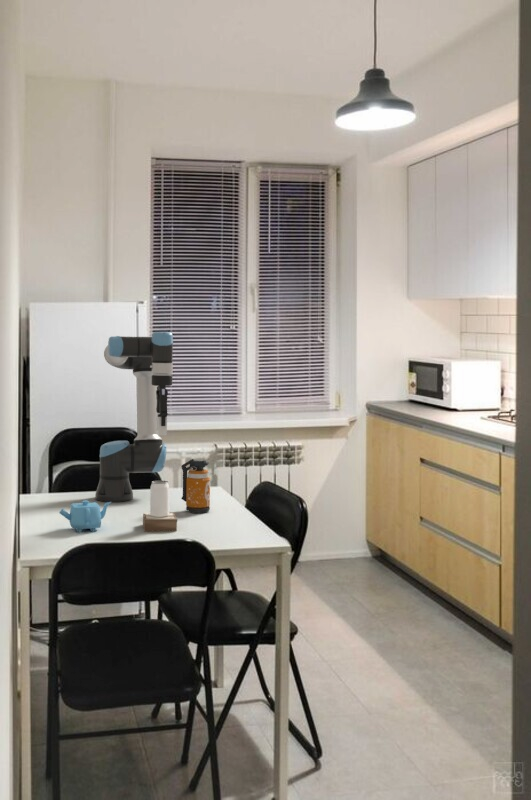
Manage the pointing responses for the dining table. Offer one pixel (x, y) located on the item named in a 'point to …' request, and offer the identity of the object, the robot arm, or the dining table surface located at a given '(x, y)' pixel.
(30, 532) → the dining table surface
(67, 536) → the dining table surface
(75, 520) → the teapot
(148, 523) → the podium
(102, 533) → the dining table surface
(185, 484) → the canister
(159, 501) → the can
